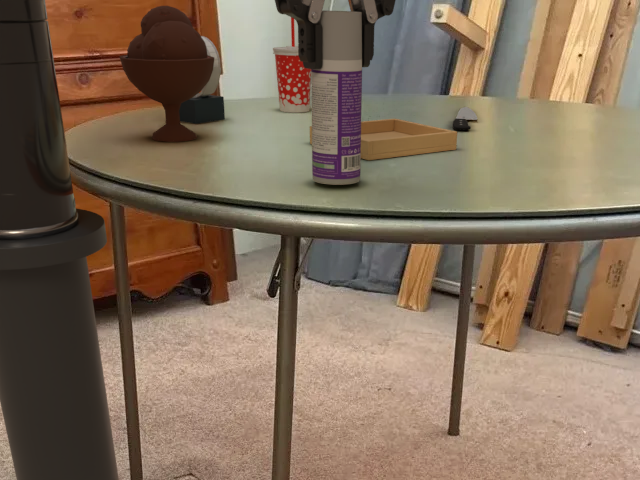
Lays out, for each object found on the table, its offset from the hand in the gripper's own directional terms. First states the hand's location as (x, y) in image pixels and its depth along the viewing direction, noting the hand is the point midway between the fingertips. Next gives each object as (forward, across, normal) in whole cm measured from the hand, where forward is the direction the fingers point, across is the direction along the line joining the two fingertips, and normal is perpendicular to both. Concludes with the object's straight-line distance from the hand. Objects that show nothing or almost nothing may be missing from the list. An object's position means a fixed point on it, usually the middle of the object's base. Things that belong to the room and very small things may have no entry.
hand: (336, 66), depth 73 cm
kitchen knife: (+11, -40, -26) cm, 49 cm away
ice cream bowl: (+11, +3, -32) cm, 34 cm away
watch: (+11, -6, -44) cm, 46 cm away
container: (+11, 0, 0) cm, 11 cm away
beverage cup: (+11, -23, -46) cm, 53 cm away
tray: (+11, -16, -14) cm, 24 cm away
